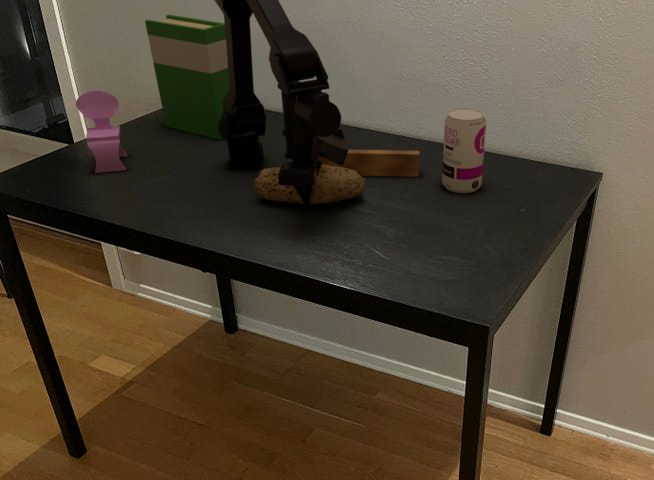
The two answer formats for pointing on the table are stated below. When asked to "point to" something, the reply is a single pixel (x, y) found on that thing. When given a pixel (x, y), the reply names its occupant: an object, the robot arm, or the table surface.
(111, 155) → the toy chair
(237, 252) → the table surface
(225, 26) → the robot arm
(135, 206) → the table surface
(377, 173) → the back rail
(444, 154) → the supplement can
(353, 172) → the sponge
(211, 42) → the hardback book
